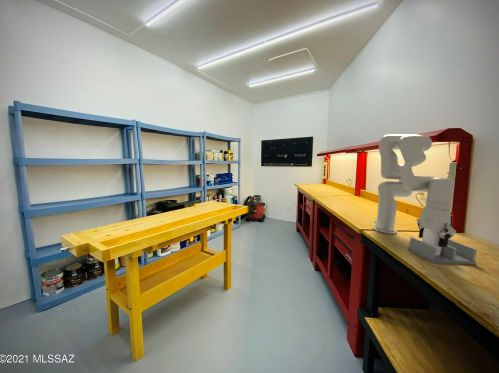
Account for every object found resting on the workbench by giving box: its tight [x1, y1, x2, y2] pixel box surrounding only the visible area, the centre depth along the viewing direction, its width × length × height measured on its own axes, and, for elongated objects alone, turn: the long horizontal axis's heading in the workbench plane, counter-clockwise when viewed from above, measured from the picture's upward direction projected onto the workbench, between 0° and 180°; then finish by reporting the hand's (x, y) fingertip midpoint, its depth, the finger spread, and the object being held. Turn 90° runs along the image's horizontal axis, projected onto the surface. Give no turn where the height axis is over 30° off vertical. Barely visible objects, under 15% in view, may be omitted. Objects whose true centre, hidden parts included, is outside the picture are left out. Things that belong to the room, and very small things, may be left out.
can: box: [421, 228, 441, 256], centre depth 86 cm, size 6×6×12 cm
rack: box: [407, 237, 478, 266], centre depth 86 cm, size 13×18×6 cm
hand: (431, 242), depth 86 cm, fingers open, 9 cm apart
